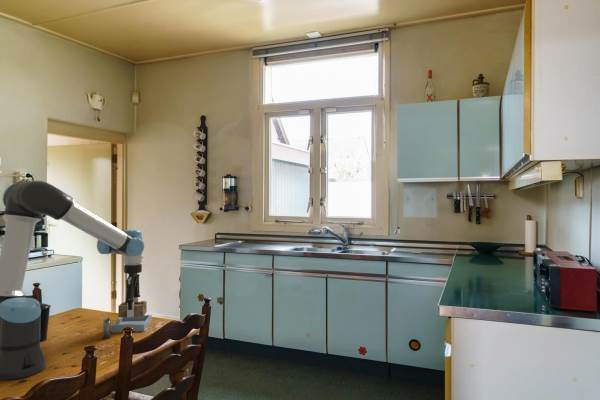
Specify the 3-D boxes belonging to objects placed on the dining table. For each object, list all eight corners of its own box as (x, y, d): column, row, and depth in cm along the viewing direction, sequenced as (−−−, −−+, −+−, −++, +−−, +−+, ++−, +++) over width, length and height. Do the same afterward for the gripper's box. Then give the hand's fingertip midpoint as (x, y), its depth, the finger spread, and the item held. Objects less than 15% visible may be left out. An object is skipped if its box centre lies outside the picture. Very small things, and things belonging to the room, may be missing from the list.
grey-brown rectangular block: (118, 317, 186) (118, 303, 185) (123, 312, 193) (123, 299, 193) (142, 316, 187) (142, 303, 187) (146, 312, 194) (146, 299, 194)
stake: (109, 339, 172) (109, 319, 172) (101, 339, 172) (102, 319, 172) (111, 336, 176) (111, 317, 176) (104, 336, 176) (104, 317, 176)
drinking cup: (53, 340, 171) (53, 291, 171) (31, 344, 165) (32, 294, 165) (47, 336, 176) (47, 288, 176) (26, 340, 170) (26, 291, 170)
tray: (144, 331, 183) (144, 324, 183) (111, 332, 181) (111, 325, 181) (151, 321, 198) (151, 314, 198) (121, 322, 197) (121, 315, 197)
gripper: (135, 267, 180) (135, 320, 180) (146, 260, 200) (146, 308, 200) (117, 267, 179) (117, 321, 179) (130, 260, 199) (130, 308, 199)
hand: (132, 314), depth 190 cm, fingers closed on grey-brown rectangular block, 7 cm apart
